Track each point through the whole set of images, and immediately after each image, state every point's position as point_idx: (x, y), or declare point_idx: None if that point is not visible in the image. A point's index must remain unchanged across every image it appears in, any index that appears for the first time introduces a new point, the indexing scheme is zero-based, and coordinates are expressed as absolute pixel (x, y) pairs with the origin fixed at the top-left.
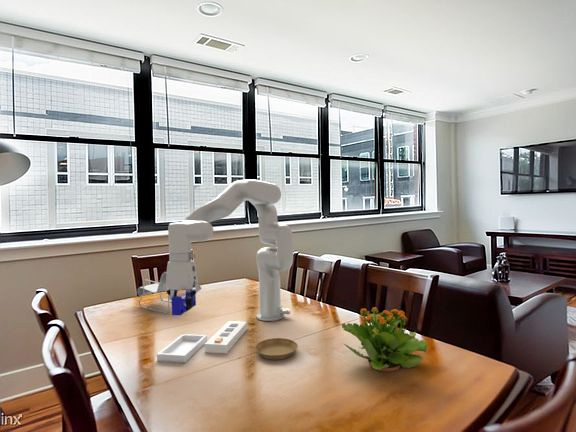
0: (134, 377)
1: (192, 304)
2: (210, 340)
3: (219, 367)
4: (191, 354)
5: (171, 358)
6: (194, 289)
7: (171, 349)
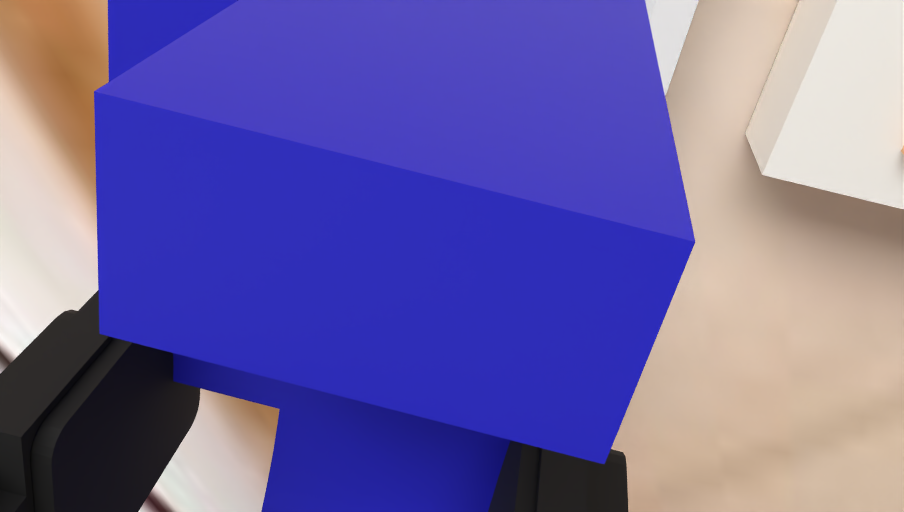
0: (242, 486)
1: (616, 491)
2: (844, 69)
3: (897, 459)
4: None
5: None
6: (643, 342)
7: None
